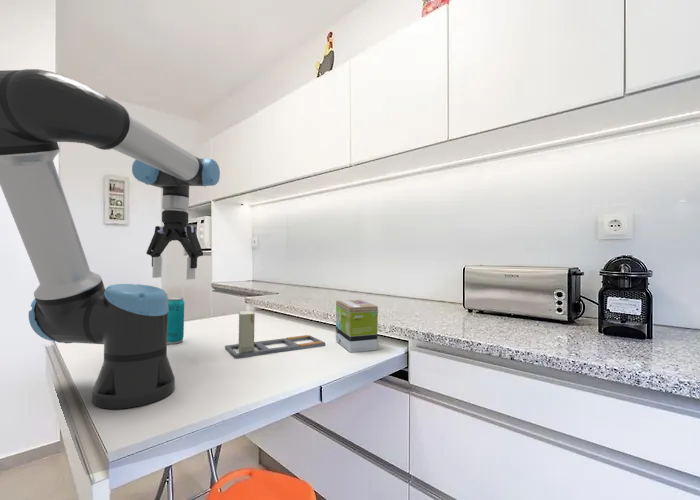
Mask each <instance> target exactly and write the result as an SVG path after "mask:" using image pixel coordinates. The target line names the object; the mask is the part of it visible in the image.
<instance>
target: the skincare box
mask: <svg viewBox="0 0 700 500" xmlns="http://www.w3.org/2000/svg"><path fill="white" fill-rule="evenodd" d="M255 315H256V314H255V312H254V311H252V310H251V311H250V310H246V311H245V310H243V311H242V310H241V311H239V312H238V344H239V348H238V349H237V350H238V353H241V352H248V351H255V347H254V342H255Z"/></svg>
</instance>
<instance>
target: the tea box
mask: <svg viewBox="0 0 700 500" xmlns="http://www.w3.org/2000/svg"><path fill="white" fill-rule="evenodd" d="M378 307H379V306H378V305H375V304H373V303H370V302H367V301H365V300H363V299H347V300H336V301H335V342H337V343H339V344H340V345H341V347H343V348H344V349H345V350H347V351H348V352H349V353H361V352H371V351H372V352H373V351H377V350H378V330H379V329H378V328H379V327H378V323H379V322H378V321H379V318H378V315H379V309H378Z"/></svg>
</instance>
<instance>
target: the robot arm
mask: <svg viewBox="0 0 700 500" xmlns="http://www.w3.org/2000/svg"><path fill="white" fill-rule="evenodd" d="M59 143H77V144H78V143H79V144H85V145H89V146H92V147H94V148H96V149H100V150H103V151H109V150H110V151H111V150H114V151H116V152H117V153H120V154H122V155H125V156H127V157H130V158H131V159H134V161H133V163H132V165H131V172H132V175H133V177H134V178H135V179H136V180H137V181H139V182H140V183H143V184H145V185H149V186H152V187H156V188H160V189H162V200H161V201H162V203H161V209H162V211H161V222H162V223H163V226H159V225H155V227H154V233H153V236H152V238H151V241H150V243H149V245H148V248H147V250H146V255H148V256H150V257H151V268H152V278H153V279H155V278H156V279H157V278H162V268H163V267H162V266H163V264H162V263H163V257H162V253H163V252H164V250H165V249H166V247H167V246H168V245H169V243H171V242H172V241H178V242H179V243H180V244H181V246H182V248H183V249H184V251H185V252H186V253H187V255H188V257H187V258H186V280H195V279H196V269H197V268H198V258H199V257H202V256H203V255H204V251H203V249H202V247H201V243H200V241H199V239H198V236H197V233H196V232H197V231H196V226H193V225H188V223H189V216H190V215H189V212H188V211H189V210H190V209H189V205H190V187H204V188H205V187H211V186H213V187H214V186H216V185H217V184H218V183H219V181H220V178H221V176H220V175H221V171H220V169H221V168H220V166H219V163H218V162H217V161H216V159H215V160H214V159H213V158H206V157H204V158H200V157H197V156H196V155H194V154H192V153H190V152H189V151H188V150H185V149H184V148H183V147H181V146H179V145H177V144H176V143H174V142H172V141H171V140H170V139H168V138H166V137H165V136H163V135H161V134H159V133H158V132H156V130H155V131H154V130H153V129H151V128H149V127H148V126H146V125H145V124H143V123H142V122H140V121H139V120H137V119H135V118H133V117H132V116H130V113H129V112H128V110H127V109H126V107H125V106H124V105H122V104H120V102H118V101H116V100H114V99H112V98H111V97H109V96H107V94H104V93H103V92H101V91H98V90H97V89H95V88H93V87H91V86H88V85H87V84H85V83H83V82H80V81H78V80H76V79H73V78H71V77H68V76H65V75H63V74H59V73H58V72H57V73H56V72H53V71H50V70H49V71H48V70H44V69H37V68H35V69H34V68H33V69H32V68H29V69H28V68H25V69H19V70H18V69H14V70H13V69H12V70H11V69H10V70H8V69H7V70H0V188H1V190H2V193H3V195H4V198H5V200H6V203H7V206H8V208H9V211H10V213H11V215H12V218H13V220H14V223H15V225H16V228H17V231H18V233H19V235H20V238H21V240H22V243H23V245H24V248H25V250H26V254H27V255H28V257H29V261H30V263H31V265H32V268H33V270H34V272H35V273H34V274H35V276H36V278H37V280H38V283H39V285H38V286H37V287H36V289H35V290H34V292H33V296H34V297H33V300H32V302H31V303H30V307H31V310H29V311H28V321H29V322H28V323H29V324H30V327H31V329H32V330H33V332H34V333H35V334H36V335H37V336H39V337H40V338H42V339H44V340H46V341H50V342H56V343H59V344H60V343H62V344H73V343H74V344H89V345H103V363H102V365H101V368H100V370H99V373H98V375H97V378H96V381H95V383H94V385H93V389H92V392H91V393H92V395H91V403H92V405H94V406H95V407H97V408H99V409H100V408H101V409H110V410H111V409H113V410H114V409H115V410H118V409H119V410H121V409H128V408H134V407H140V406H146V405H149V404H152V403H155V402H157V401H160V400H162V399H164V398H166V397H168V396H169V395H171V394H172V393H173V392H174V390H175V389H176V388H175V383H176V381H175V375H174V372H173V369H172V367H171V363H170V361H169V357H168V354H167V351H168V348H167V347H168V344H167V328H168V312H169V307H168V298H169V297H168V294H167V292H166V291H165V290H164V289H163V288H160V287H156V286H153V285H146V284H134V283H116V284H111V285H108V286H107V287H105V285H104V282H103V279H102V275H100V274H99V273H96V272H93V271H91V270H90V267H89V263H88V259H87V256H86V254H85V251H84V248H83V246H82V242H81V239H80V235H79V234H78V233H79V232H78V230H77V228H76V224H75V222H74V219H73V215H72V213H71V209H70V206H69V204H68V200H67V198H66V195H65V191H64V189H63V187H62V183H61V180H60V177H59V173H58V171H57V168H56V165H55V161H54V160H55V158H56V156H57V155H58V154H59V153H60V152H61V149H60V146H59Z"/></svg>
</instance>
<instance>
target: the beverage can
mask: <svg viewBox="0 0 700 500" xmlns="http://www.w3.org/2000/svg"><path fill="white" fill-rule="evenodd" d="M168 307H169V312H168V328H167V345H176V344H181V343H182V341H183V339H184V333H185V330H184V329H185V301H184V297H183V296H181V297H180V296H178V297H177V296H175V297H173V296H172V297H168Z"/></svg>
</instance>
